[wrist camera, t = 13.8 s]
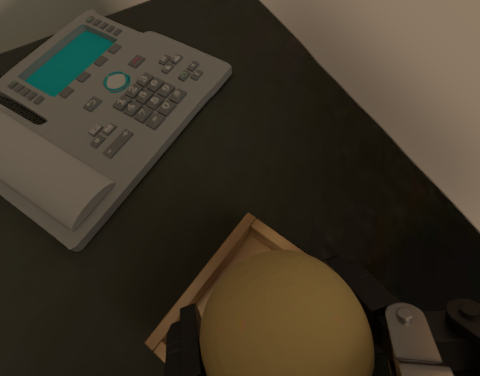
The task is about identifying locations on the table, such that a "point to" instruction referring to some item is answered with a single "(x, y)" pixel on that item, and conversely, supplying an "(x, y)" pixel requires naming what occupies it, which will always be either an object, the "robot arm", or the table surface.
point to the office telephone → (96, 120)
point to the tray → (220, 272)
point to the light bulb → (284, 321)
